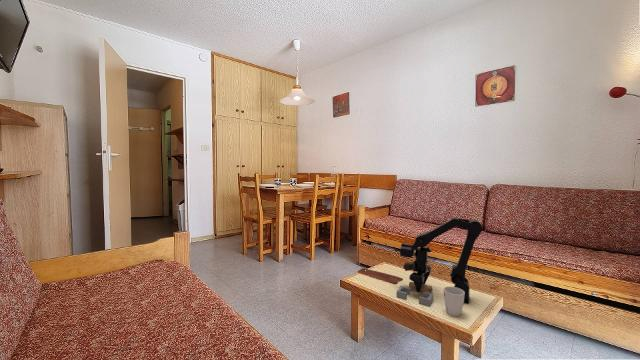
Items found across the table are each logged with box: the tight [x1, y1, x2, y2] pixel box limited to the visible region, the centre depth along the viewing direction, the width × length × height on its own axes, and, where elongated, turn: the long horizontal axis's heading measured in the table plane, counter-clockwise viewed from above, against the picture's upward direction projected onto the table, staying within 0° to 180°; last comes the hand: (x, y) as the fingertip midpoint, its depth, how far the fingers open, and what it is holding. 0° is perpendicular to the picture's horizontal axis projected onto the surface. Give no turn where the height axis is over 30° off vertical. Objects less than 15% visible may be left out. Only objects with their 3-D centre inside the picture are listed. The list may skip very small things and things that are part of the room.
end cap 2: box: [418, 292, 434, 307], centre depth 126 cm, size 5×7×3 cm, turn 144°
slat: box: [408, 281, 433, 294], centre depth 137 cm, size 11×4×4 cm, turn 61°
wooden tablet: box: [357, 267, 404, 285], centre depth 157 cm, size 27×10×2 cm, turn 49°
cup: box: [443, 286, 465, 317], centre depth 116 cm, size 8×8×10 cm
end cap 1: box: [395, 285, 412, 301], centre depth 132 cm, size 5×7×3 cm, turn 144°
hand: (420, 289), depth 137 cm, fingers open, 9 cm apart
